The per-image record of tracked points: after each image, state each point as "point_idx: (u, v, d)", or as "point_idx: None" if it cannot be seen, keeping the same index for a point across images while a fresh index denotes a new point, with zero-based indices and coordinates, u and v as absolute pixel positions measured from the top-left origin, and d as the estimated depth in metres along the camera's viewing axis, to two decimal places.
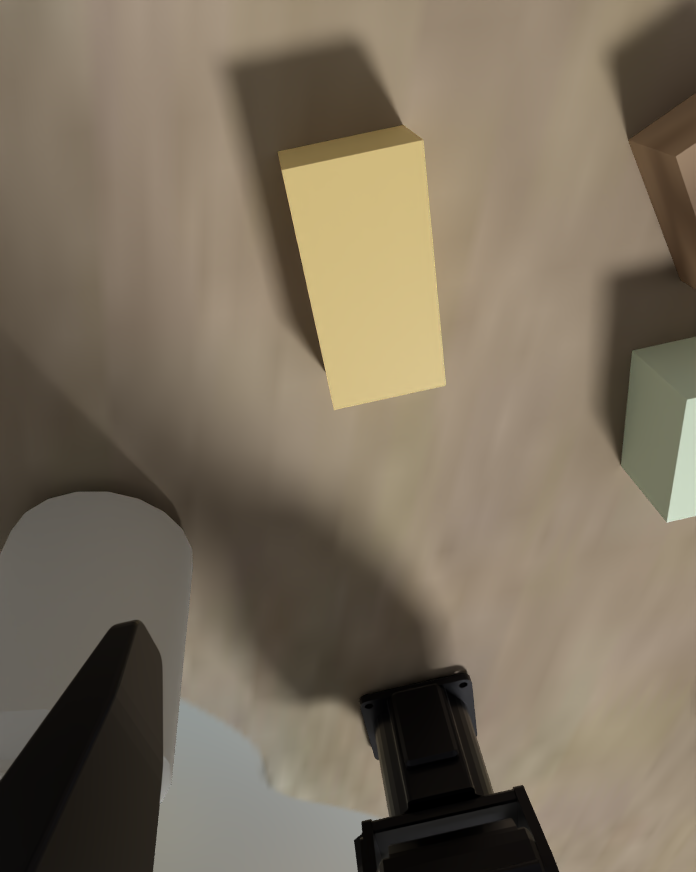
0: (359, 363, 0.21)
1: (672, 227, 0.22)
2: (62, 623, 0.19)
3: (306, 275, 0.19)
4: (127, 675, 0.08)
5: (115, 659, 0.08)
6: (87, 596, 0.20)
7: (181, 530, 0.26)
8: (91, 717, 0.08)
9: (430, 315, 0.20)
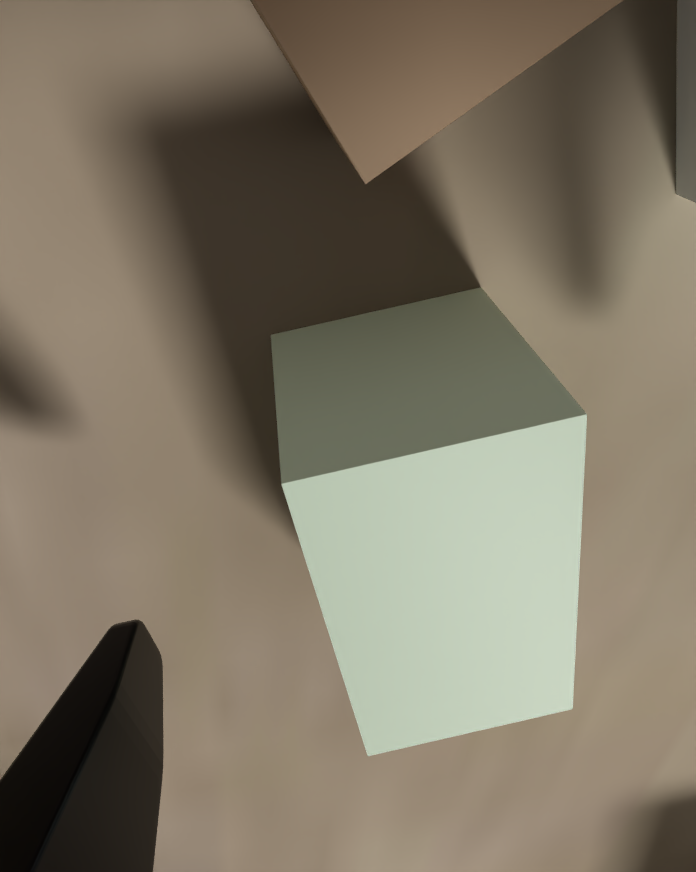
0: None
1: None
2: None
3: None
4: (127, 675, 0.08)
5: (115, 659, 0.08)
6: None
7: None
8: (91, 717, 0.08)
9: None
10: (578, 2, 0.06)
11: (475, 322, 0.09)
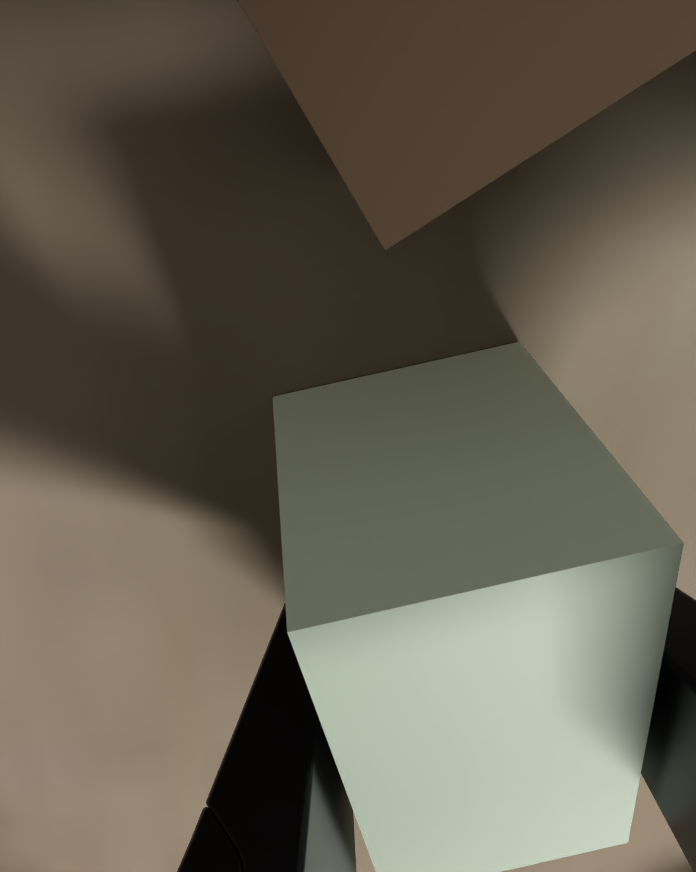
0: None
1: None
2: None
3: None
4: None
5: None
6: None
7: None
8: None
9: None
10: (679, 24, 0.04)
11: (521, 394, 0.08)
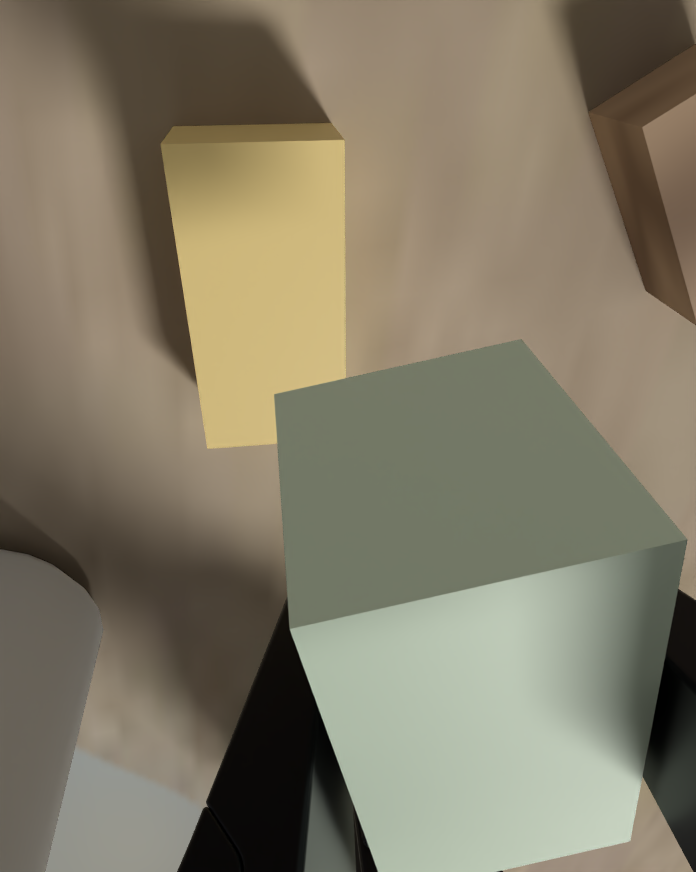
0: (242, 398, 0.17)
1: (637, 224, 0.18)
2: None
3: (183, 282, 0.15)
4: None
5: None
6: None
7: (83, 590, 0.23)
8: None
9: (334, 354, 0.17)
10: None
11: (523, 392, 0.08)
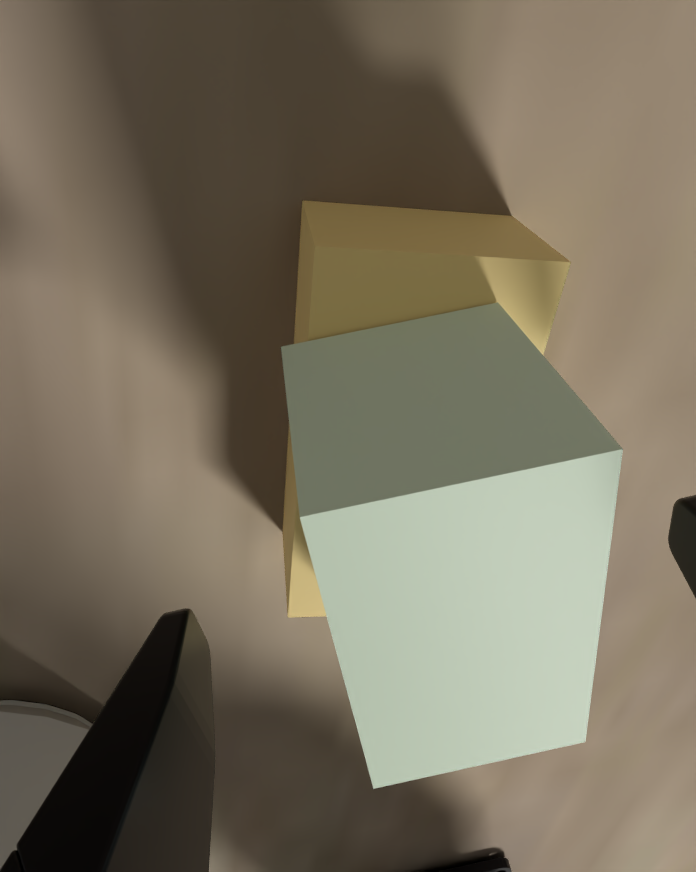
0: None
1: None
2: None
3: None
4: (183, 663, 0.08)
5: (170, 647, 0.08)
6: None
7: None
8: (152, 702, 0.08)
9: None
10: None
11: (497, 344, 0.09)
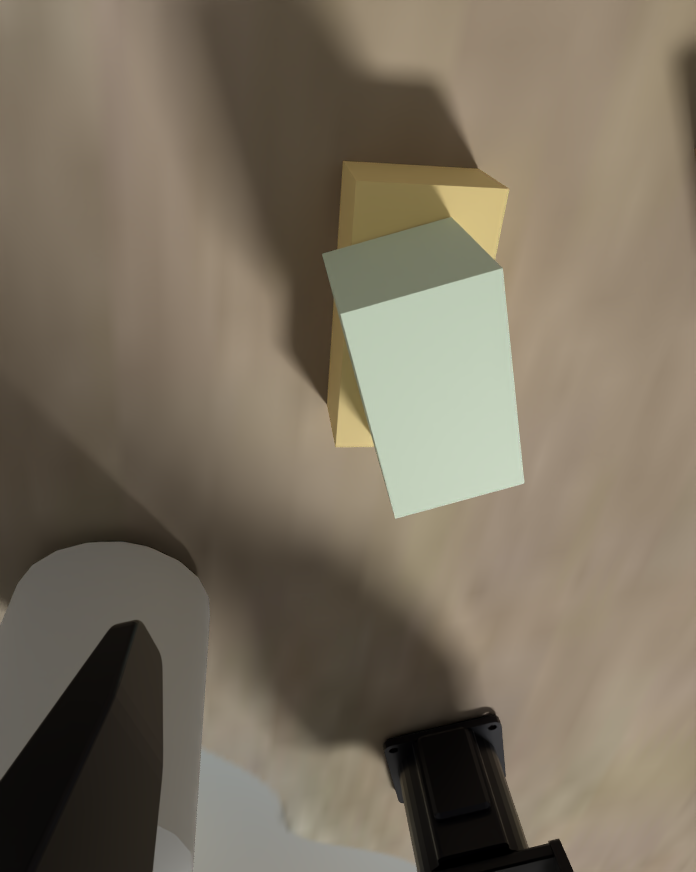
0: None
1: None
2: None
3: None
4: (127, 675, 0.08)
5: (115, 659, 0.08)
6: None
7: (198, 580, 0.25)
8: (91, 717, 0.08)
9: None
10: None
11: (447, 235, 0.15)
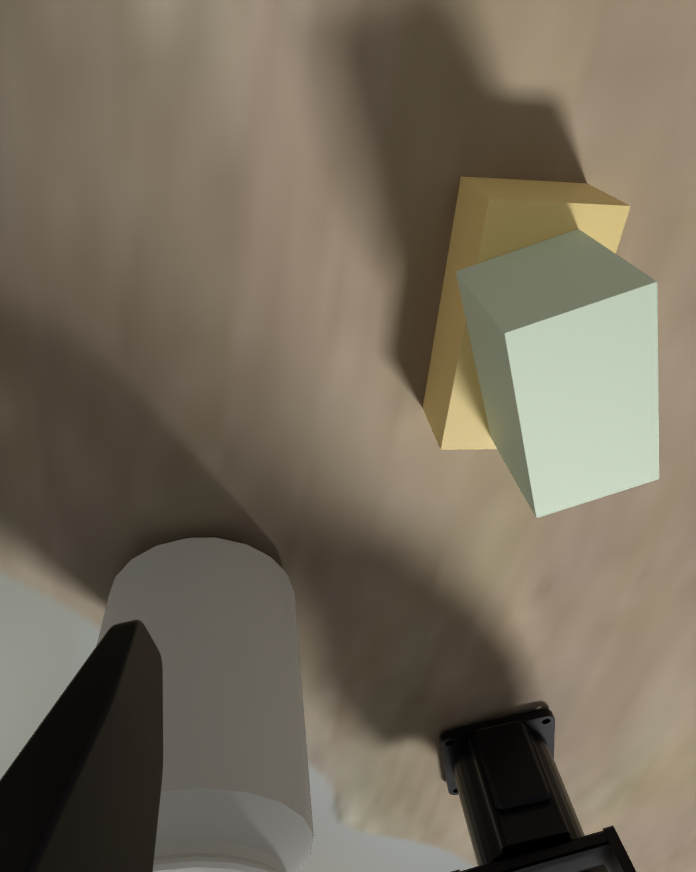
0: (483, 408, 0.20)
1: None
2: (200, 688, 0.19)
3: None
4: (127, 675, 0.08)
5: (115, 659, 0.08)
6: (219, 657, 0.20)
7: (286, 575, 0.25)
8: (92, 716, 0.08)
9: None
10: None
11: (583, 248, 0.16)
